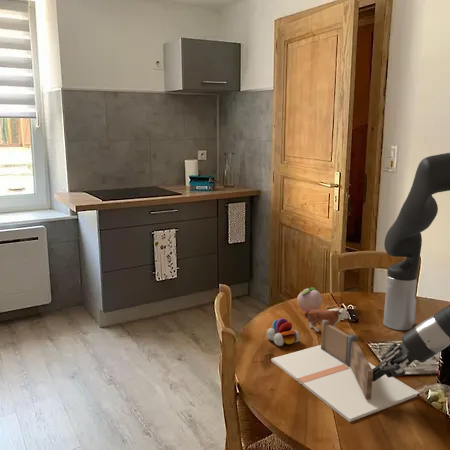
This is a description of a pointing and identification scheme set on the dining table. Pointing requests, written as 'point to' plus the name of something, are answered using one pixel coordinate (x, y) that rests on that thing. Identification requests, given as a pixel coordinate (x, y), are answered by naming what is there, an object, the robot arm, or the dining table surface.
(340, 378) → the board
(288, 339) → the rainbow toy vehicle
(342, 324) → the dining table surface
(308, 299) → the decorative fruit
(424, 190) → the robot arm
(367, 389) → the hinged fence panel
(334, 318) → the bull figurine
